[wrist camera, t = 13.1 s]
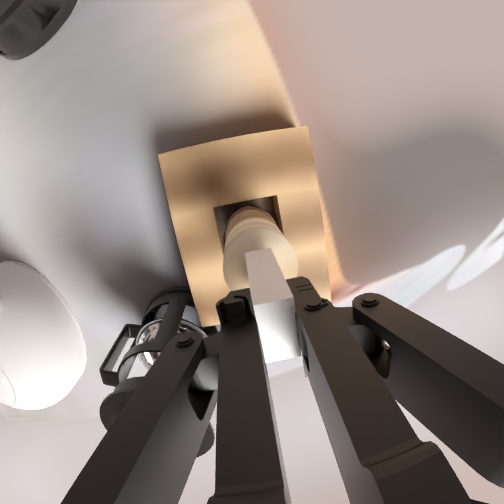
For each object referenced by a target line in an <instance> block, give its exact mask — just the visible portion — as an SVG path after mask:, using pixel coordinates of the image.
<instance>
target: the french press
mask: <svg viewBox="0 0 504 504" xmlns="http://www.w3.org/2000/svg"><path fill="white" fill-rule="evenodd" d="M165 304H169V305H168V307H167V310H166V312H165V315H164V317H163V318H159V319H157V320H156V313H157V311H158V309H159V308H160V307H161V306H162V305H165ZM186 305H188V306H191V307H194V308H195V309H196V306H195V303H194V300H193V296H192V293H191V289H189V288H171V289H167V290H164V291H162V292H160V293H159V294H157V295H156V296H155V297H154V298H153V299H152V300H151V302H150V303H149V305H148V307H147V311H146V315H145V317H144V319H143V321H142V325H135V324H126V325H125V326H124V328H123V329H122V331H121V333H120V334H119V336H118V338H117V339H116V341H115V343H114V344H113V346H112V348H111V350H110V351H109V353H108V355H107V357H106V358H105V360H104V362H103V364H102V365H101V367H100V374H101V378H102V381H103V383H104V384H105V385H109V386H114V387H115V389H114V392H113V393H111V394H109V395H108V396H107V397H106V398H105V399H104V400H103V402H102V404H101V406H100V418H101V421H102V423H103V425H104V427H105V428H106V429H107V431H108V430H109V428H110V427H111V425H112V424H113V422H114V421H115V419H116V418H117V416H118V415H119V413H120V412H121V410H122V409H123V407H124V406H125V405H126V403H127V402H128V400H129V399H130V397H131V396H132V394H133V393H134V391H135V390H136V388H137V387H138V385H139V384H140V382H141V381H142V379H143V378H144V377H133V378H130V379H127V377H128V374H129V372H130V370H131V367H132V365H133V363H134V360H135V358H136V356H137V355H138V357H139V359H140V361H141V362H142V364H143V365H144V366H145V367H146V368H147V369H148V370H149V369H150V368H151V366H152V365H153V363H154V362H155V361H156V359H157V358H158V356H159V355H160V353H161V352H162V350H163V349H164V347H165V346H166V345H167V343H168V342H169V341H170V340H171V339H172V338H173V337H174V336H176V335H178V334H179V333H182V332H189V331H193V332H198V333H200V334H201V336H202V337H203V338H206V337H209V336H211V335H214V334H216V333H217V332H219V331H220V329H221V324H219V325H213V326H211V331H210V334H209V335H208V336H207V334H206V333H205V332H204V331H203V330H202V329H200V328H199V327H198V326H197V325H195V324H193V323H191V322H189V321H187V320H185V319H182V316H183V312H184V309H185V306H186ZM129 338H135V340H134V342H133V344H132V346H131V348H130V350H129V351H128V352H127V353H126V354H125V356H124V358H123V360H122V362H121V364H120V366H119V368H118V371H117V372H113V371H112V369H113V367H114V365H115V363H116V361H117V360H118V358H119V356H120V354H121V352H122V350H123V348H124V346H125V344H126V342H127V340H128V339H129ZM214 438H215V434H214V429H213V427H212V425H211V423H210V421H209V424H208V427H207V429H206V432H205V435H204V437H203V440H202V443H201V445H200V448H199V451H198V453H197V456H196V457H199V456H201V455H203V454H205V453H206V452H207V451H208V450H209V449H210V448H211V447H212V445H213V443H214Z"/></svg>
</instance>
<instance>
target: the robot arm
mask: <svg viewBox="0 0 504 504" xmlns="http://www.w3.org/2000/svg"><path fill="white" fill-rule="evenodd" d="M76 2H77V0H0V56H2V57H5V58H7V59H10V60H18V59H22V58H24V57H26V56H28V55H30V54H32V53H33V52H35V51H36V50H38V49H39V48H40V47H42V46H43V45H44V44H45V43H46V42H47V41H48V40H49V39H50V38H51V37H52V36H53V35H54V34H55V33H56V32H57V31H58V30H59V29H60V27H61V26H62V25H63V24H64V22H65V21H66V20H67V18H68V17H69V15H70V14H71V12H72V10H73V8H74V6H75V4H76ZM245 258H246V265H247V272H248V279H249V285H250V288H245V289H240V290H234V291H230V292H229V293H228V295H227V296H226V297H224V298H222V299H221V300H219V301H218V302H217V304H216V310H217V313H218V317H219V321H220V324H221V329H220V331H219V332H217V333H216V334H214V335H211V336H209V337H206V338H203V337H202V336H201V334H200V333H198V332H193V331H189V332H182V333H179V334H178V335H176V336H174V337H173V338H172V339H171V340H170V341H169V342H168V343H167V345H166V346H165V347H164V349H163V350H162V352H161V353H160V355H159V356H158V358H157V359H156V361H155V362H154V363H153V365H152V366H151V368H150V369H149V371H148V372H147V374H146V375H145V377H144V378H143V379H142V381H141V382H140V384H139V385H138V387H137V388H136V390H135V391H134V393H133V394H132V396H131V397H130V399H129V400H128V402H127V403H126V405H125V406H124V407H123V409H122V410H121V412H120V413H119V415H118V416H117V418H116V419H115V421H114V422H113V424H112V425H111V427H110V428H109V430H108V431H107V433H106V434H105V436H104V437H103V439H102V440H101V442H100V444H99V445H98V447H97V448H96V450H95V451H94V453H93V454H92V456H91V457H90V459H89V460H88V462H87V463H86V465H85V467H84V468H83V470H82V471H81V473H80V474H79V476H78V477H77V479H76V480H75V482H74V483H73V485H72V487H71V488H70V490H69V491H68V493H67V494H66V496H65V498H64V499H63V501H62V502H61V504H178V502H179V500H180V497H181V495H182V492H183V489H184V487H185V484H186V482H187V479H188V476H189V474H190V471H191V469H192V466H193V464H194V461H195V458H196V456H197V453H198V451H199V448H200V445H201V443H202V440H203V437H204V435H205V432H206V429H207V427H208V424H209V421H210V419H211V416H212V413H213V411H214V408H215V405H216V403H217V425H216V473H215V476H216V477H215V478H216V480H215V493H214V495H213V496H211V497H210V498H209V499H208V502H207V504H291V499H290V494H289V488H288V483H287V478H286V472H285V467H284V461H283V456H282V450H281V445H280V439H279V434H278V429H277V423H276V417H275V412H274V406H273V400H272V395H271V389H270V384H269V378H268V373H267V368H266V363H269V362H274V361H279V360H284V359H289V358H293V357H298V356H301V351H302V355H303V363H304V372H305V377H307V376H308V378H309V381H310V383H311V386H312V389H313V392H314V395H315V398H316V401H317V404H318V407H319V410H320V413H321V416H322V419H323V422H324V425H325V428H326V431H327V434H328V436H329V440H330V442H331V445H332V448H333V452H334V454H335V458H336V461H337V464H338V467H339V470H340V473H341V476H342V479H343V482H344V485H345V488H346V491H347V494H348V497H349V501H350V504H488V503H484V502H480V501H475V500H472V499H470V498H469V496H468V495H467V493H466V491H465V489H464V488H463V486H462V484H461V483H460V481H459V479H458V477H457V476H456V474H455V472H454V471H453V469H452V467H451V466H450V464H449V462H448V461H447V459H446V457H445V456H444V454H443V452H442V451H441V450H440V449H439V447H438V446H437V445H436V444H435V443H433V442H431V441H429V442H422V441H420V440H419V438H418V437H417V435H416V434H415V432H414V430H413V429H412V427H411V425H410V424H409V422H408V420H407V419H406V417H405V416H404V414H403V412H402V411H401V409H400V407H399V406H398V404H397V402H396V401H398V402H399V403H400V404H401V405H402V406H403V407H404V408H405V409H406V410H407V411H408V412H410V413H411V414H412V415H413V416H414V417H415V418H416V419H417V420H419V421H420V422H421V423H422V424H423V425H424V426H425V427H426V428H427V429H429V430H430V431H431V432H432V433H433V434H434V435H435V436H436V437H437V438H439V439H440V440H441V441H442V442H443V443H444V444H445V445H446V446H448V447H449V448H450V449H451V450H452V451H454V453H456V454H457V455H458V456H459V457H460V458H461V459H462V460H464V461H465V462H466V463H467V464H468V465H469V466H470V467H471V468H473V469H474V470H475V471H476V472H477V473H479V474H480V475H481V476H483V477H484V478H485V479H487V480H488V481H490V482H492V483H494V484H496V485H497V486H499V487H502V488H504V364H502V363H500V362H498V361H497V360H495V359H493V358H492V357H490V356H488V355H487V354H485V353H483V352H481V351H480V350H478V349H477V348H475V347H473V346H471V345H470V344H468V343H466V342H464V341H463V340H461V339H459V338H457V337H456V336H454V335H452V334H451V333H449V332H447V331H445V330H444V329H442V328H440V327H438V326H437V325H435V324H433V323H431V322H429V321H428V320H426V319H424V318H422V317H421V316H419V315H417V314H415V313H413V312H412V311H410V310H408V309H406V308H404V307H403V306H401V305H399V304H397V303H395V302H393V301H392V300H390V299H388V298H386V297H384V296H382V295H380V294H375V293H365V294H362V295H359V296H357V297H355V298H354V300H353V301H352V306H353V307H334V306H333V305H332V303H331V302H330V301H329V300H328V299H325V298H321V297H320V295H319V294H318V292H317V291H316V289H315V288H314V286H313V285H312V283H311V282H310V280H309V279H308V278H305V277H303V276H300V277H295V278H290V279H285V277H284V275H283V273H282V271H281V269H280V267H279V264H278V262H277V260H276V258H275V256H274V254H273V252H272V249H271V248H266V249H261V250H256V251H251V252H246V253H245ZM385 341H386V342H387V343H388V344H389V346H390V347H389V346H387V345H386V344H385ZM300 348H301V349H300ZM395 400H396V401H395Z"/></svg>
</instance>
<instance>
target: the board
mask: <svg viewBox="0 0 504 504" xmlns="http://www.w3.org/2000/svg"><path fill="white" fill-rule="evenodd" d="M158 158H159V163H160V168H161V172H162V177H163V182H164V186H165V191H166V196H167V200H168V204H169V209H170V213H171V217H172V221H173V225H174V230H175V234H176V238H177V242H178V245H179V249H180V253H181V257H182V261H183V264H184V268H185V272H186V275H187V279H188V282H189V286H190V289H191V293H192V296H193V300H194V303H195V306H196V310H197V313H198V316H199V320H200V323H201V326H202V327H207V326H213V325H219V324H220V321H219V317H218V313H217V310H216V304H217V302H218V301H219V300H221V299H222V298H224V297H226V296H227V295H228V293H229V292H230V291H231V290H230V289H229V287H228V286H227V284H226V282H225V279H224V276H223V259H224V249H225V245H224V240H223V236H222V231H221V226H220V222H219V217H218V212H217V208H216V207H218V206H222V205H227V204H232V203H237V202H242V201H247V200H252V199H258V198H263V197H268V196H272V198H273V204H274V209H275V215H276V221H277V227H278V228H279V230H280V231H281V232H282V234H283V235H284V236H285V238H286V239H287V240H288V242H289V243H290V245H291V246H292V247H293V249H294V251H295V253H296V255H297V259H298V273H297V277H300V276H303V277H305V278H308V279H309V280H310V282H311V283H312V285H313V286H314V288H315V289H316V291H317V292H318V294H319V295H320V297H321V298H325V299H328V300H329V301H331V294H330V282H329V271H328V261H327V252H326V243H325V234H324V226H323V218H322V211H321V204H320V197H319V190H318V184H317V177H316V171H315V165H314V159H313V154H312V149H311V143H310V137H309V132H308V127H307V126H301V127H293V128H286V129H279V130H272V131H265V132H259V133H253V134H247V135H242V136H236V137H231V138H226V139H221V140H216V141H211V142H207V143H202V144H198V145H194V146H189V147H185V148H181V149H177V150H173V151H170V152H166V153H162V154H158Z"/></svg>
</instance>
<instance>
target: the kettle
mask: <svg viewBox="0 0 504 504" xmlns="http://www.w3.org/2000/svg"><path fill="white" fill-rule="evenodd" d="M86 359H87V356H86V347H85V342H84V338H83V335H82V332H81V329H80V327H79V325H78V322H77V320H76V318H75V316H74V314H73V313H72V311H71V309H70V308H69V306H68V304H67V303H66V301H65V300H64V299H63V297H62V296H61V295H60V293H59V292H58V291H57V290H56V288H55V287H54V286H53V285H52V284H51V283H50V282H49V281H48V280H47V279H46V278H45V277H44V276H42V275H41V274H40V273H39V272H37V271H36V270H35V269H33V268H31V267H30V266H28V265H26V264H24V263H21V262H18V261H12V260H8V261H2V262H0V403H2V404H5V405H8V406H10V407H14V408H17V409H23V410H38V409H43V408H46V407H49V406H52V405H54V404H55V403H57V402H59V401H60V400H62V399H63V398H64V397H65V396H66V395H67V394H68V393H69V392H70V391H71V390H72V388H73V387H74V386H75V384H76V383H77V381H78V380H79V378H80V377H81V376H82V374H83V372H84V370H85V367H86Z"/></svg>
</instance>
